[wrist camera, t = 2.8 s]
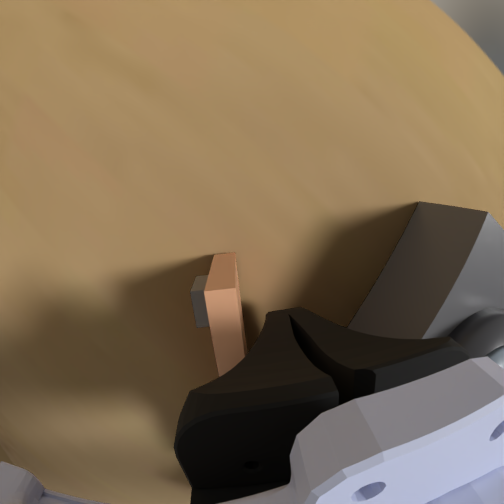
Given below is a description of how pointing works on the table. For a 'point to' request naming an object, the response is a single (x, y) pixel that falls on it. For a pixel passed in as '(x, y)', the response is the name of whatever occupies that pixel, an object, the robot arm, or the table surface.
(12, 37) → the table surface
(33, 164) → the table surface
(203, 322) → the side door
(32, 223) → the table surface
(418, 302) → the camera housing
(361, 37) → the table surface
